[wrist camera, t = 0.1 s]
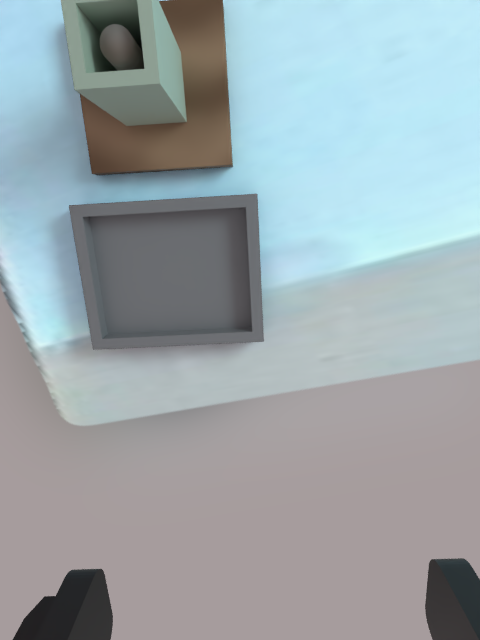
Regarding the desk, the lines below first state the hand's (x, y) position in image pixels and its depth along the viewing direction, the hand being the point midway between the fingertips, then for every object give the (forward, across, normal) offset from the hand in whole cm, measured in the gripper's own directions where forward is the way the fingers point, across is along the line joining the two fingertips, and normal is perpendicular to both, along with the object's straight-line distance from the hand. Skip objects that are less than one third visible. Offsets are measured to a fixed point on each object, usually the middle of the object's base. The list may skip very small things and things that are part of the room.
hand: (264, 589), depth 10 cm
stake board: (+29, +7, -19) cm, 35 cm away
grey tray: (+29, +7, -4) cm, 30 cm away
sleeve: (+28, +7, -19) cm, 34 cm away
